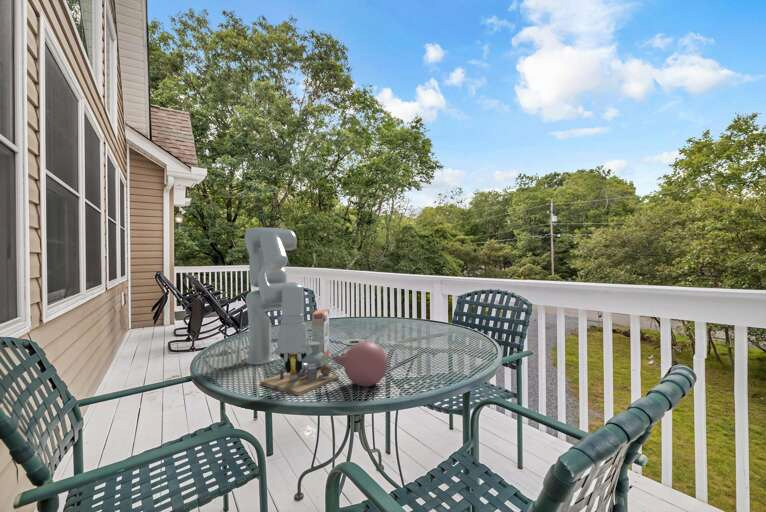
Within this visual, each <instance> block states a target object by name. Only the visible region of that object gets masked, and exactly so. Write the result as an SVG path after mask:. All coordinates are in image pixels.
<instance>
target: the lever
mask: <svg viewBox="0 0 766 512" xmlns="http://www.w3.org/2000/svg"><path fill="white" fill-rule="evenodd" d="M297 361H298V353H290V354H289V363H290V375H291V379H295V378H298V377H299V375H300V374H301V373H302V371H303V370H307V364H308V362H302V370H301V371H300V372H299V373H297Z"/></svg>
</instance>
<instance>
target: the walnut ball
mask: <svg viewBox="0 0 766 512" xmlns="http://www.w3.org/2000/svg"><path fill="white" fill-rule="evenodd" d="M319 369H320V371H319V372H321V373H322V374H323V375H329V374H330V373H332V367H331V366H330V364H327V363H324V365H323V366H321V367H320V368H319Z"/></svg>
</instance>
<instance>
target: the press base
mask: <svg viewBox="0 0 766 512" xmlns="http://www.w3.org/2000/svg"><path fill="white" fill-rule="evenodd" d="M336 379H337V380H339V375H337V374H333V372H331V373H330V374H329V375H323V374H322V373H321V371H318V368H316V365H315V364H307V370H303V371H302V373H301V374H300V375H299V377H298V378H295V379H291V375H290V372H289V373H287V371H285V372H284V368H280V369H279V374H277V375H275V376H272V377H269V378H266V379H263V380H262V379H261V380H260V381H259V385H261V386H264V387H267V388H271V389H275V390H278V391H280V392H281V391H282V392H284V393H285V392H286V393H289V394H292V395H296V396H299V397H300V396H302V395H304V394H307V393H309V392H311V391H314V390H316V389H318V388H321V387H323V386H325V385H327V384H330V383H332V382H335V381H336ZM334 380H335V381H334Z"/></svg>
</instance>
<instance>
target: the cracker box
mask: <svg viewBox="0 0 766 512" xmlns="http://www.w3.org/2000/svg"><path fill="white" fill-rule="evenodd" d="M311 342H319V343H320V351H321V353H323V354H325V356H326V357H328V354H329V353H330V310H329V309H327V308H325V309H324V308H322V309H317V310H315V311H314V312H313V313H312V314H311Z"/></svg>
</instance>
